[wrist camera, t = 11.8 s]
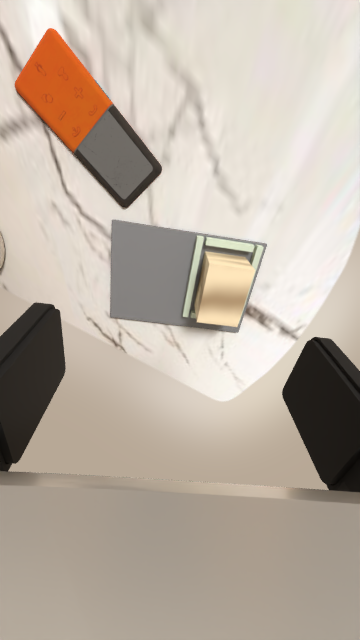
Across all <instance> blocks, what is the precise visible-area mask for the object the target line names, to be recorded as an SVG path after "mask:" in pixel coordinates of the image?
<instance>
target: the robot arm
mask: <svg viewBox="0 0 360 640" xmlns="http://www.w3.org/2000/svg"><path fill="white" fill-rule="evenodd" d="M4 256H5V248H4V241H3V238H2V236H1V233H0V268H1V267H2V265H3V261H4ZM64 373H65V357H64V347H63V337H62V327H61V317H60V311H59V310H58V309H55V307H54V305H52V304H44V303H34V304H33V305H32V306H31V307H30V308H29V309H28V310H27V311H26V312H25V313H24V314H23V315H22V316H21V317H20V318H19V319H18V320H17V321H16V322H15V323H13V324H12V325H11V327H10V328H9V329H7V331H5V332H4V333H3V335H1V336H0V640H360V371H359V370H358V369H357V368H356V366H355V365H354V364H353V363H352V362H351V361H350V360H349V359H348V357H347V356H346V355H345V354H344V353H343V352H342V351H341V350H340V348H339V347H338V346H337V345H336V344H335V343H334V342H333V341H332V340H331V339H328V338H319V337H314V338H312V339H311V340H309V341H307V343H306V345H305V346H304V348H303V350H302V353H301V354H300V356H299V358H298V360H297V362H296V364H295V366H294V368H293V370H292V372H291V374H290V376H289V378H288V380H287V382H286V384H285V386H284V388H283V392H282V395H283V399H284V401H285V403H286V405H287V407H288V409H289V412H290V414H291V416H292V418H293V420H294V422H295V425H296V427H297V429H298V431H299V433H300V435H301V438H302V440H303V442H304V444H305V446H306V448H307V450H308V452H309V455H310V457H311V459H312V461H313V463H314V466H315V468H316V470H317V472H318V474H319V476H320V478H321V480H322V481H323V482H324V483H325V484H326V485H327V487H328V489H329V490H318V489H317V490H316V489H303V488H289V487H273V486H257V485H242V484H227V483H211V482H194V481H179V480H163V479H145V478H128V477H110V476H94V475H77V474H56V473H55V474H54V473H31V472H8V470H9V468H10V466H11V465H12V463H17V462H18V461H19V460H20V458H21V456H22V455H23V453H24V451H25V449H26V447H27V445H28V443H29V441H30V439H31V437H32V435H33V433H34V431H35V430H36V428H37V426H38V424H39V422H40V420H41V418H42V416H43V414H44V412H45V411H46V409H47V407H48V405H49V403H50V401H51V399H52V397H53V395H54V393H55V392H56V390H57V387H58V386H59V384H60V382H61V380H62V378H63V376H64Z"/></svg>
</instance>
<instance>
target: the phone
mask: <svg viewBox="0 0 360 640" xmlns="http://www.w3.org/2000/svg"><path fill="white" fill-rule="evenodd" d="M15 88H16V90H17V92H18V93H19V94H20V95H21V96H22V97H23V98H24V100H25V101H26V102H27V103H28V104H29V105H30V106H31V107H32V108H33V109H34V110H35V112H36V113H37V114H38V115H39V116H40V117H41V118H42V119H43V120H44V121H45V123H46V124H47V125H48V126H49V127H50V128H51V129H52V130H53V131H54V132H55V133H56V135H57V136H58V137H59V138H60V139H61V140H62V141H63V142H64V143H65V144H66V146H67V147H68V148H69V149H70V150H71V151H72V152H73V153H74V154H75V155H76V156H77V158H78V159H79V160H80V161H81V162H82V163H83V164H84V165H85V166H86V167H87V168H88V170H89V171H90V172H91V173H92V174H93V175H94V176H95V177H96V178H97V179H98V181H99V182H100V183H101V184H102V185H103V186H104V187H105V188H106V189H107V190H108V191H109V193H110V194H111V195H112V196H113V197H114V198H115V199H116V200H117V201H118V202H119V204H120V205H121V206H122V207H128V206H129V205H130V204H131V203H132V202H133V201H134V200H135V199H136V198H137V197H138V196H139V195H140V194H141V193H142V192H143V191H144V190H145V189H146V188H147V187H148V186H149V185H150V183H151V182H152V181H153V180H154V179H155V178H156V177H157V176H158V175H159V174H160V173H161V171H162V167H161V165H160V163H159V162H158V161H157V160H156V158H155V157H154V156H153V154H152V153H151V152H150V151H149V149H148V148H147V147H146V145H145V144H144V143H143V142H142V140H141V139H140V138H139V136H138V135H137V134H136V133H135V131H134V130H133V129H132V127H131V126H130V125H129V124H128V122H127V121H126V120H125V118H124V117H123V116H122V115H121V113H120V112H119V111H118V109H117V108H116V107H115V106H114V104H113V103H112V102H111V100H110V99H109V97H108V96H107V95H106V94H105V92H104V91H103V90H102V88H101V87H100V86H99V85H98V83H97V82H96V81H95V80H94V79H93V77H92V76H91V75H90V73H89V72H88V71H87V70H86V68H85V67H84V66H83V64H82V63H81V62H80V61H79V59H78V58H77V57H76V55H75V54H74V53H73V52H72V50H71V49H70V48H69V46H68V45H67V44H66V43H65V41H64V40H63V39H62V37H61V36H60V35H59V34H58V32H57V31H56V30H54V29H52V28H50V29H48V30H47V31H46V33H45V34H44V36H43V38H42V39H41V41H40V42H39V44H38V46H37V47H36V49H35V51H34V52H33V54H32V55H31V57H30V59H29V60H28V62H27V63H26V65H25V67H24V68H23V70H22V72H21V73H20V75H19V76H18V78H17V80H16V81H15Z"/></svg>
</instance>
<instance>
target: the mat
mask: <svg viewBox="0 0 360 640" xmlns="http://www.w3.org/2000/svg"><path fill="white" fill-rule="evenodd" d="M266 246H267V244H265V243H259V242H252V241H246V240H240V239H233V238H227V237H220V236H214V235H208V234H201V233H195V232H189V231H182V230H176V229H170V228H163V227H157V226H150V225H144V224H138V223H131V222H125V221H119V220H112V252H111V311H110V317H115V318H123V319H131V320H139V321H148V322H156V323H164V324H172V325H180V326H189V327H197V328H205V329H213V330H222V331H230V332H239V328H240V325H241V322H242V319H243V316H244V313H245V310H246V307H247V304H248V301H249V298H250V295H251V292H252V289H253V286H254V283H255V280H256V277H257V274H258V271H259V268H260V265H261V262H262V258H263V255H264V252H265V249H266ZM205 251H207V252H214V253H221V254H228V255H235V256H242V257H246V259H247V260H248V261H249V263H250V264H251V265H252V267H253V268H254V269H255V273H254V276H253V279H252V282H251V286H250V289H249V292H248V295H247V298H246V301H245V304H244V308H243V311H242V314H241V317H240V320H239V323H238V327H233V326H224V325H216V324H208V323H199V322H197V320H196V313H195V306H194V303H195V298H196V293H197V289H198V284H199V279H200V274H201V269H202V264H203V259H204V254H205Z"/></svg>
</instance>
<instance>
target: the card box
mask: <svg viewBox="0 0 360 640" xmlns="http://www.w3.org/2000/svg"><path fill="white" fill-rule="evenodd" d="M254 273H255V269H254V268H253V267H252V265H251V264H250V263H249V261H248V260H247V259H246V257H242V256H235V255H228V254H221V253H214V252H207V251H205V254H204V259H203V264H202V269H201V274H200V279H199V284H198V289H197V293H196V298H195V303H194V306H195V313H196V320H197V322H199V323H208V324H216V325H224V326H233V327H238V323H239V320H240V317H241V314H242V311H243V308H244V304H245V301H246V298H247V295H248V292H249V289H250V286H251V282H252V279H253V276H254Z"/></svg>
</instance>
